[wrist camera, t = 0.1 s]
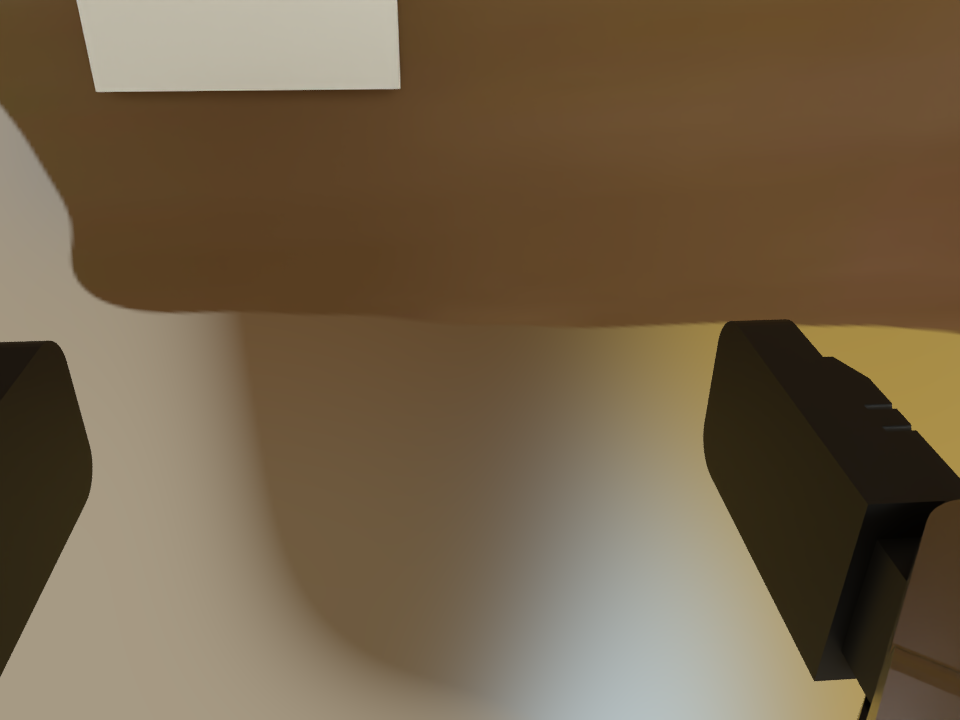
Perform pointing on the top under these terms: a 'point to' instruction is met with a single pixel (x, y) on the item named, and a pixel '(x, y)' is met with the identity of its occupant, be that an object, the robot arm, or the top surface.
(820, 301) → the top surface
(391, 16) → the outlet plate
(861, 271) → the top surface
